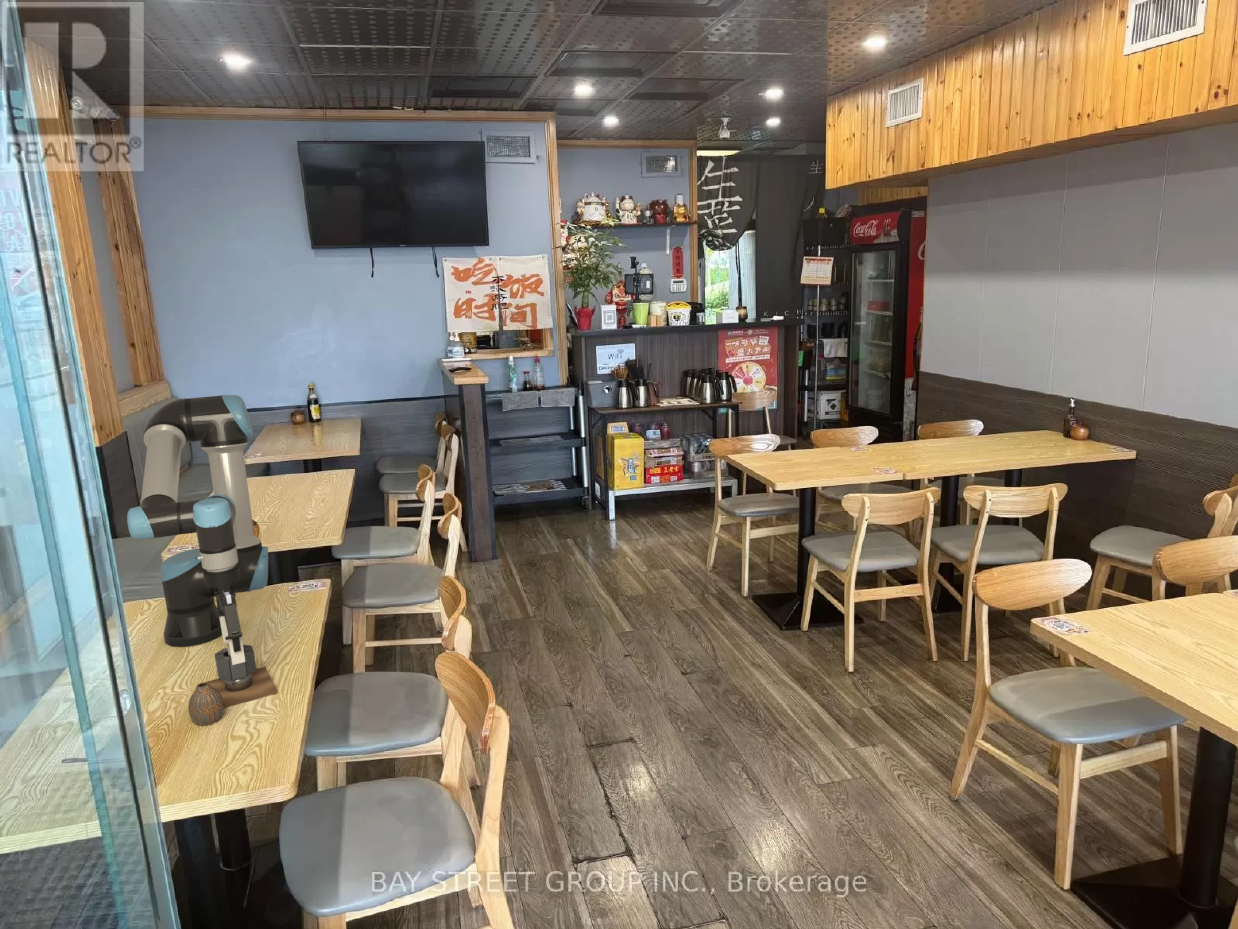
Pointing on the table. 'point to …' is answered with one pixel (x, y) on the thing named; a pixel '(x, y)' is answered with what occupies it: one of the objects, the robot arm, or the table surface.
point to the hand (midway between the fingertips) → (234, 651)
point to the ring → (238, 670)
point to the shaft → (237, 681)
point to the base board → (257, 690)
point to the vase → (205, 704)
